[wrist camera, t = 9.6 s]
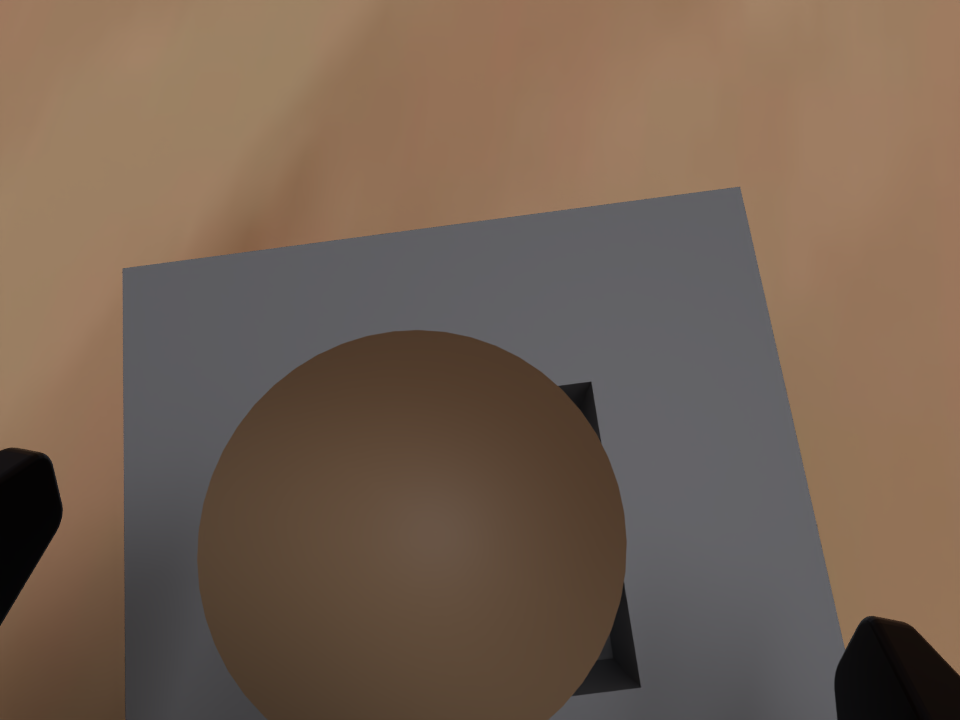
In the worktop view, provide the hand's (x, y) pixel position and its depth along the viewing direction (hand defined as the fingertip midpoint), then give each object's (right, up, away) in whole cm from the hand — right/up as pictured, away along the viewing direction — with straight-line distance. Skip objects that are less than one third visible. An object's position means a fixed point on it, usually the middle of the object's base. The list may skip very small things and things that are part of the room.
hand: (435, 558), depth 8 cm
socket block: (0, -2, +9) cm, 10 cm away
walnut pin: (0, -2, +8) cm, 9 cm away
